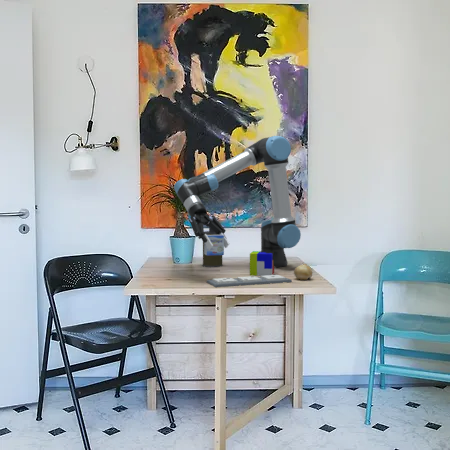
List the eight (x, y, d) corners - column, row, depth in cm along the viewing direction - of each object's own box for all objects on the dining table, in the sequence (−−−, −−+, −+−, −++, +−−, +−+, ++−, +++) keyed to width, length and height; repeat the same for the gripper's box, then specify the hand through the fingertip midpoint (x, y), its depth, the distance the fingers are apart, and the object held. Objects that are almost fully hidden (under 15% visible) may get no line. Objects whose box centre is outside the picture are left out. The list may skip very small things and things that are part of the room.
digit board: (279, 277, 250) (279, 273, 250) (291, 282, 239) (291, 277, 239) (206, 282, 239) (206, 278, 239) (215, 287, 228) (215, 282, 227)
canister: (221, 267, 283) (220, 227, 282) (200, 266, 285) (200, 227, 283) (224, 264, 294) (224, 226, 292) (204, 263, 295) (204, 225, 294)
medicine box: (206, 255, 241) (206, 235, 240) (204, 254, 245) (204, 234, 245) (224, 255, 243) (224, 235, 242) (221, 253, 247) (221, 234, 247)
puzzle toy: (271, 276, 255) (271, 254, 255) (249, 275, 257) (249, 253, 257) (274, 272, 265) (274, 251, 265) (253, 272, 267) (253, 251, 267)
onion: (315, 280, 243) (315, 264, 243) (297, 281, 241) (297, 264, 241) (308, 277, 251) (308, 261, 250) (291, 278, 249) (291, 262, 249)
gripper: (209, 213, 261) (233, 250, 251) (172, 214, 247) (196, 254, 236) (217, 201, 257) (241, 239, 247) (180, 202, 242) (204, 242, 232)
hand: (219, 246), depth 241 cm, fingers closed on medicine box, 9 cm apart
